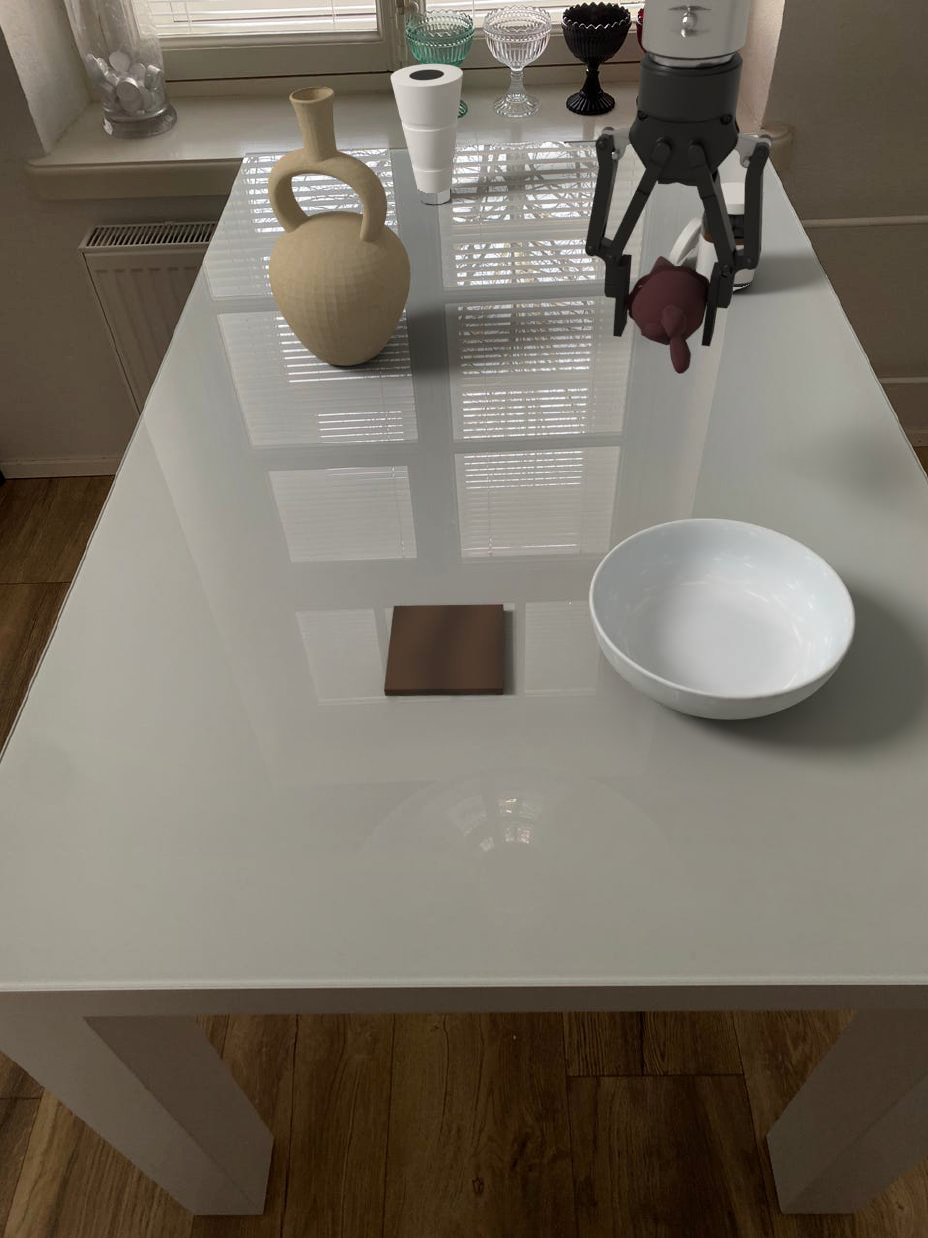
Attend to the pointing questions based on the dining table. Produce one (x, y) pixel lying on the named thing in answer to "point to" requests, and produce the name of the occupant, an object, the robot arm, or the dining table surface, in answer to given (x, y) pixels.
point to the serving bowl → (720, 617)
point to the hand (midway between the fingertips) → (663, 333)
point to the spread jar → (701, 233)
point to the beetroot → (670, 307)
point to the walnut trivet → (446, 650)
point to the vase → (334, 248)
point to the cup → (429, 120)
